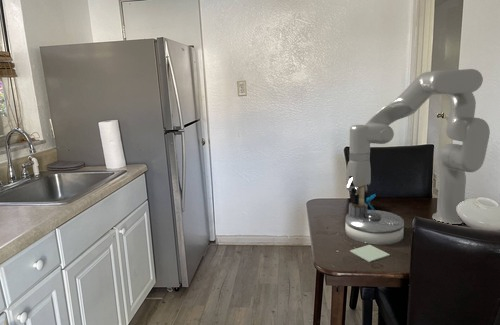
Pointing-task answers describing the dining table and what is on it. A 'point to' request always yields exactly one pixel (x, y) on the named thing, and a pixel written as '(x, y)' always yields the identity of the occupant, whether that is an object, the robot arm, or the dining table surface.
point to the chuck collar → (373, 220)
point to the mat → (369, 253)
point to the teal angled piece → (370, 200)
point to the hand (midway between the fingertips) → (358, 202)
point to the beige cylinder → (360, 196)
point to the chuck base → (374, 236)
